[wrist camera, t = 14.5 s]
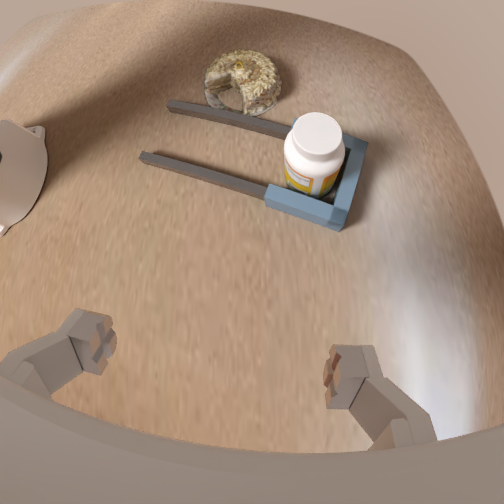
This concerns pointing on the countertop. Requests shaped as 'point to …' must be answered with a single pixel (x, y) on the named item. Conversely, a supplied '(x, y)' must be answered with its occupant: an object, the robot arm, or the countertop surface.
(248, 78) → the cake
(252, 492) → the robot arm
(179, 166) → the guide rails
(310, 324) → the countertop surface
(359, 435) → the countertop surface
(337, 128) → the supplement bottle
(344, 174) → the socket block
